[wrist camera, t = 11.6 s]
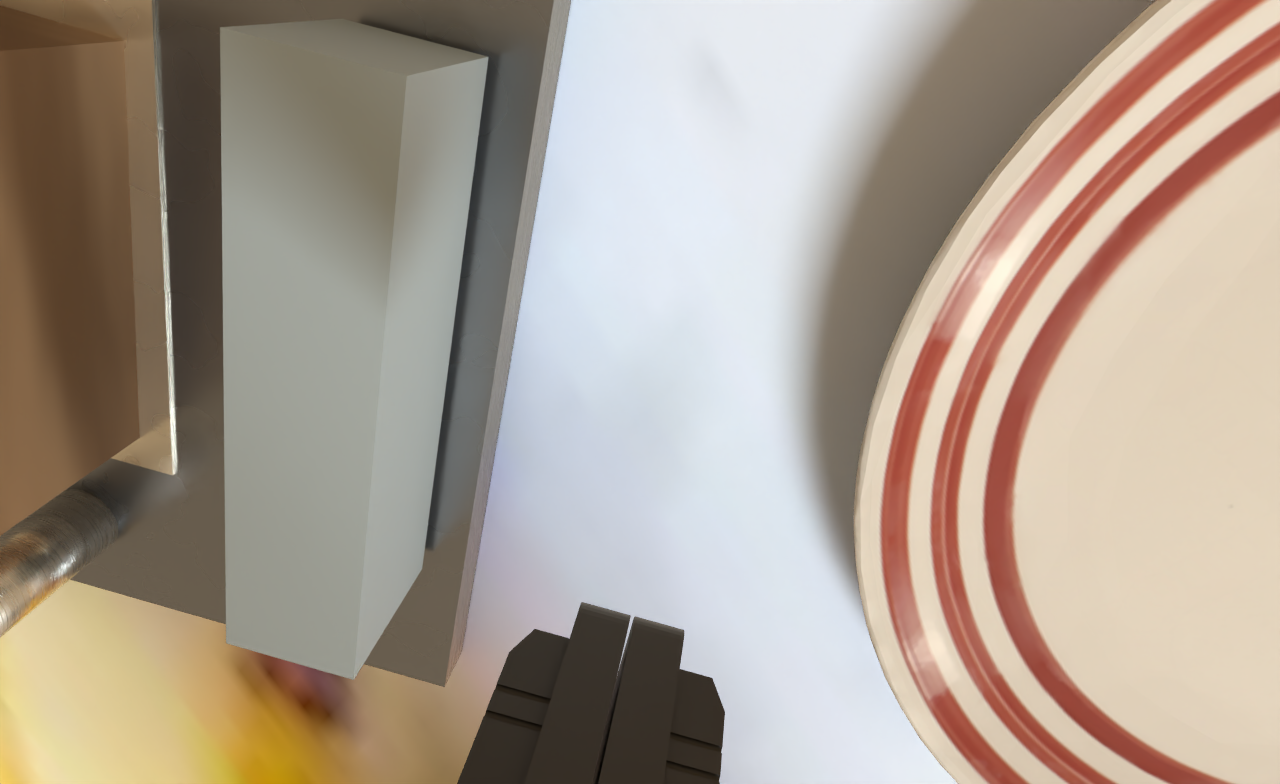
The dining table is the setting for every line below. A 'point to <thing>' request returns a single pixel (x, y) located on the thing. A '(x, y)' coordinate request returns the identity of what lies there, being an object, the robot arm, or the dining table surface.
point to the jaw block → (62, 260)
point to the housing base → (193, 315)
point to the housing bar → (336, 321)
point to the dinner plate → (1096, 432)
